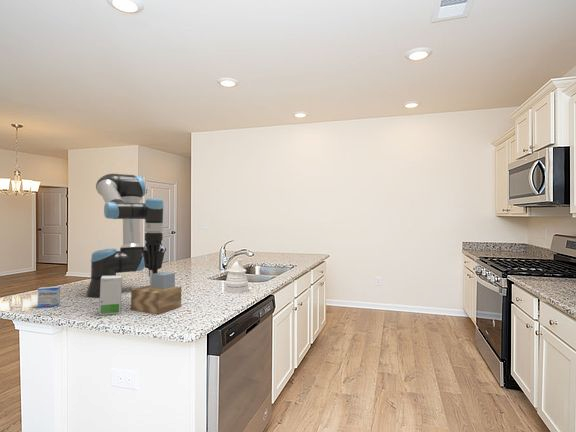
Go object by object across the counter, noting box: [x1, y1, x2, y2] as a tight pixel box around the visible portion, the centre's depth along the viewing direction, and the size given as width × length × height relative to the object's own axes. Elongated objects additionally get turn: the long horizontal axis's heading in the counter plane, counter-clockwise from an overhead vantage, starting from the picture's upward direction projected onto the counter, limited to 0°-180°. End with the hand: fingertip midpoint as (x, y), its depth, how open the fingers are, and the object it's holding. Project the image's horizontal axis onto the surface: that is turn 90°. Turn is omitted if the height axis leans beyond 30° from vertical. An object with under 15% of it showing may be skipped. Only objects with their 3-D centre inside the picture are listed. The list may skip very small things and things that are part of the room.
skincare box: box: [98, 275, 123, 316], centre depth 145 cm, size 8×7×16 cm
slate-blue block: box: [151, 271, 176, 291], centre depth 152 cm, size 7×7×7 cm
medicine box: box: [37, 285, 61, 309], centre depth 153 cm, size 8×4×9 cm, turn 118°
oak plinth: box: [130, 284, 182, 315], centre depth 154 cm, size 16×14×9 cm
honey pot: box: [224, 258, 249, 295], centre depth 190 cm, size 13×13×18 cm
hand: (152, 284), depth 154 cm, fingers closed
